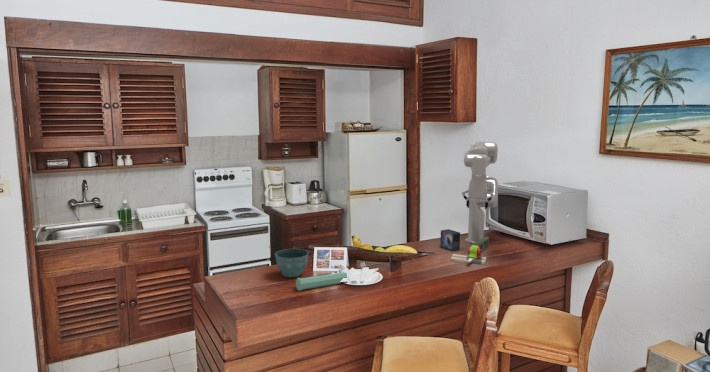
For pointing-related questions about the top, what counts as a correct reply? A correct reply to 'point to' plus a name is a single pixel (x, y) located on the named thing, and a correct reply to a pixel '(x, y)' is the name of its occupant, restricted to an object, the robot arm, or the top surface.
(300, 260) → the flower pot
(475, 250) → the toy measuring tape
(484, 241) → the handheld radio
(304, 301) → the top surface
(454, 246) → the small box
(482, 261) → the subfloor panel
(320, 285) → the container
